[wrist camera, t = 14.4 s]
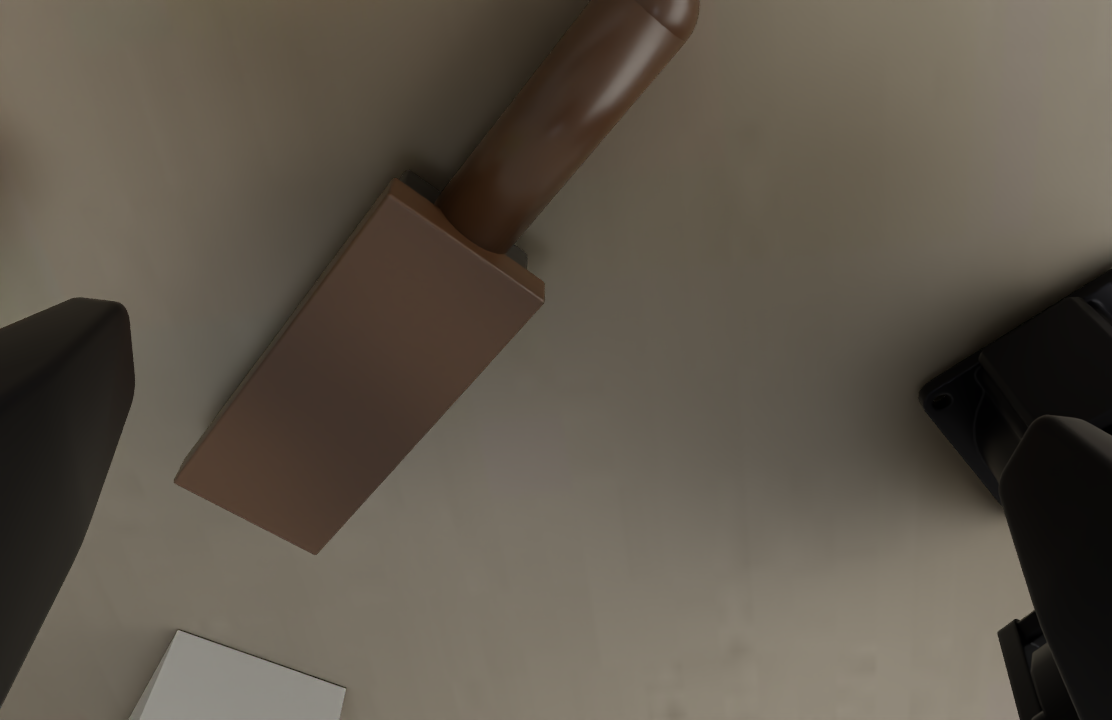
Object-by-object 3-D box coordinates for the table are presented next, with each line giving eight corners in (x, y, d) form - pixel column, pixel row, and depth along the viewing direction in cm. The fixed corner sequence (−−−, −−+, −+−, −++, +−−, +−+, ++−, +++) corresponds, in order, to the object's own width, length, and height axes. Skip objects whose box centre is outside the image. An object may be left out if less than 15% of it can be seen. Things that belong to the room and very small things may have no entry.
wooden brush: (598, -116, 18) (607, -102, 16) (746, 21, 20) (773, 51, 17) (203, 421, 25) (171, 483, 23) (334, 493, 27) (315, 557, 24)
